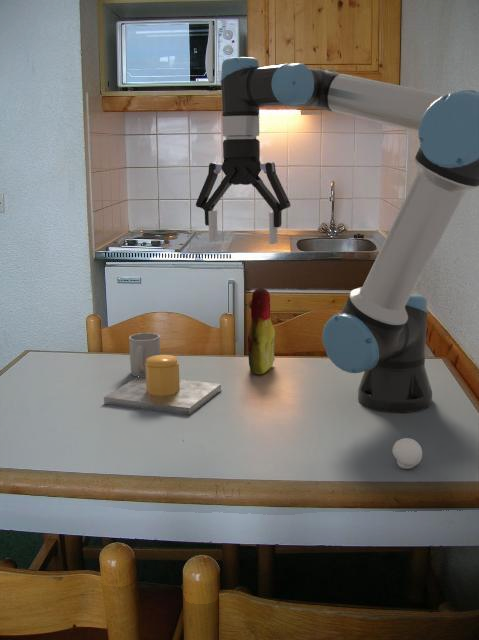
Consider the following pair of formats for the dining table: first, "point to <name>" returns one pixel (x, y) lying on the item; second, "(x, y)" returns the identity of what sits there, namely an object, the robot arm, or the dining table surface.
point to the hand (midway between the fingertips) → (243, 242)
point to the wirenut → (162, 375)
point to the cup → (142, 351)
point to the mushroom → (407, 453)
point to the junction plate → (180, 402)
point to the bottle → (261, 333)
